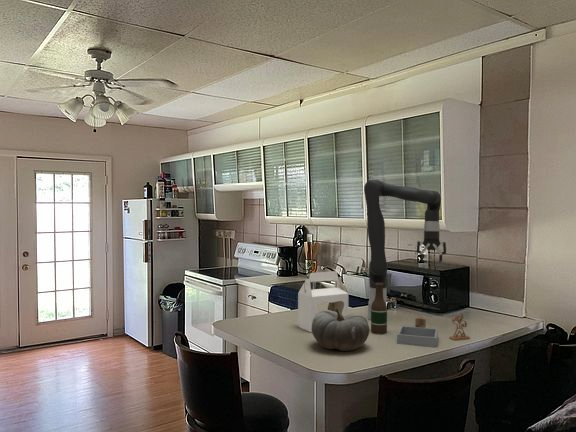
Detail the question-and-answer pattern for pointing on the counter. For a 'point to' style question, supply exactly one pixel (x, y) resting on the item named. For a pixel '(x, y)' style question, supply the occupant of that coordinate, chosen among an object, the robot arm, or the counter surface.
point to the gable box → (320, 298)
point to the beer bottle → (379, 312)
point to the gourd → (340, 330)
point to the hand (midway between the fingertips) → (431, 262)
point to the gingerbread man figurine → (460, 337)
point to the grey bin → (417, 336)
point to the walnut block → (420, 322)
